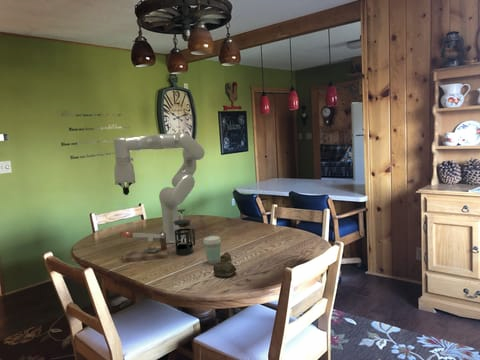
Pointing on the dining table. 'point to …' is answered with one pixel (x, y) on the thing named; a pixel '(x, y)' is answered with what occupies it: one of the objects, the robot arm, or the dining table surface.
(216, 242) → the coffee cup
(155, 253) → the base
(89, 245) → the dining table surface
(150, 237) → the lever
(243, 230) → the dining table surface
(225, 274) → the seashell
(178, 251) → the french press
